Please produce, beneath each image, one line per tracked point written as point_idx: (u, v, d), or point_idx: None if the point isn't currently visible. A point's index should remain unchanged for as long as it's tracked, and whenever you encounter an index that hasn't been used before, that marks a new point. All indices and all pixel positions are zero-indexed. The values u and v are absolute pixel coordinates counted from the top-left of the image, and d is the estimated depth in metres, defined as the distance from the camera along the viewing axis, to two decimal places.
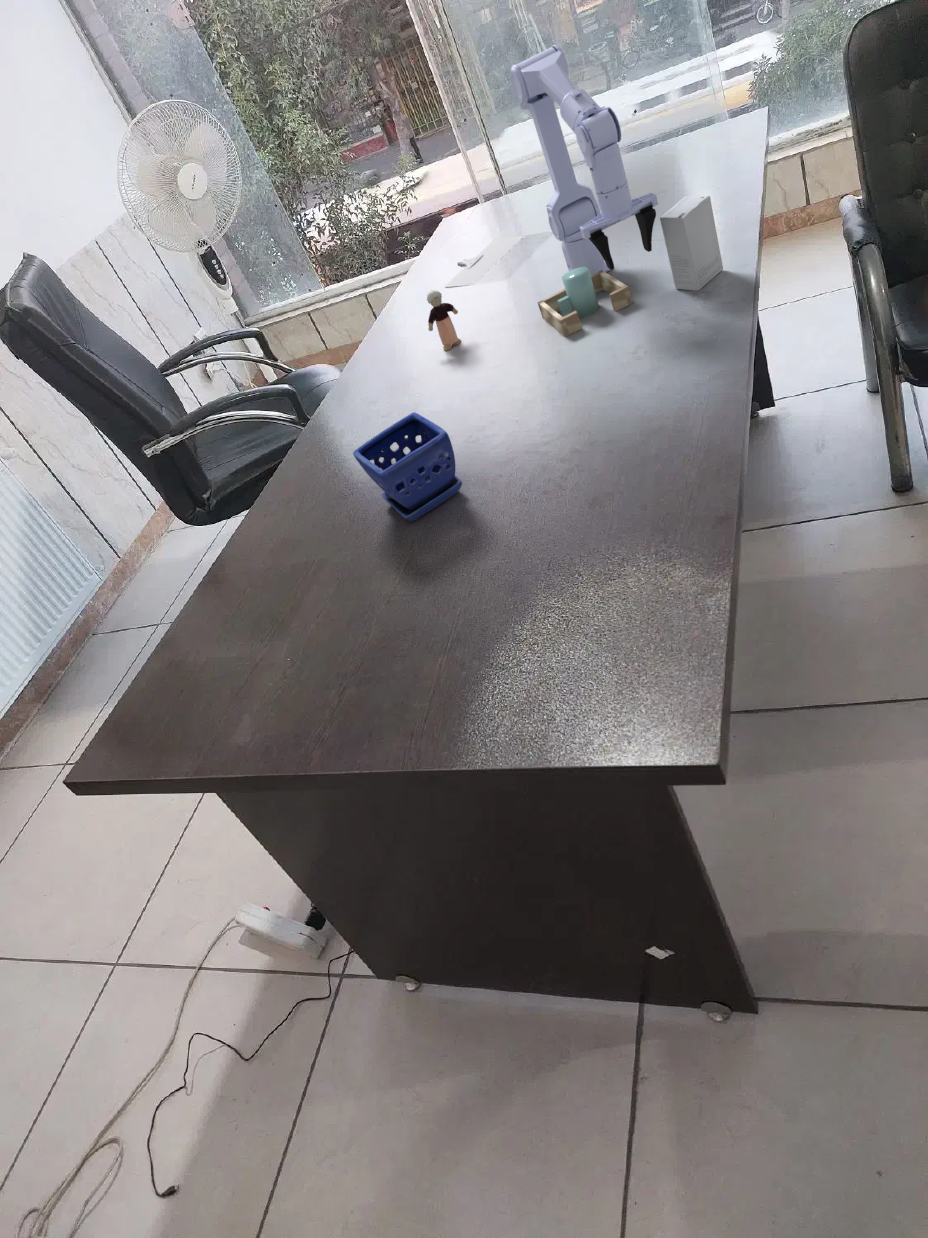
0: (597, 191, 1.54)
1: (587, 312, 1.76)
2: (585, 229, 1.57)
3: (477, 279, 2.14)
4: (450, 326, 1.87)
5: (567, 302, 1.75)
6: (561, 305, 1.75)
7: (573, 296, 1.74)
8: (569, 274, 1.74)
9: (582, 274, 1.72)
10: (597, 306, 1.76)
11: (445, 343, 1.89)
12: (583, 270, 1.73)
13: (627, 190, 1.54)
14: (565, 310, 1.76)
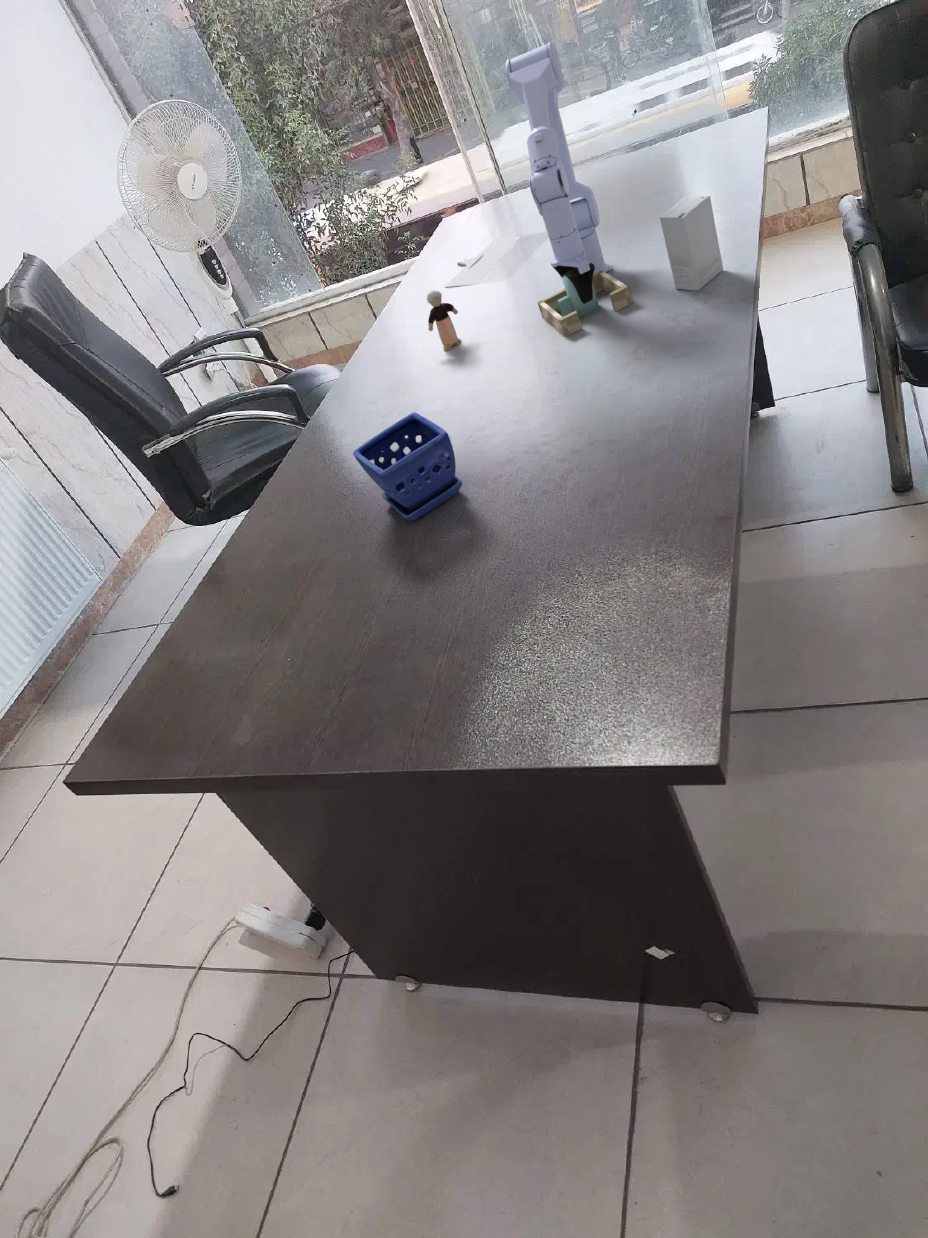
0: (548, 235, 1.68)
1: (587, 312, 1.76)
2: None
3: (477, 279, 2.14)
4: (450, 326, 1.87)
5: (567, 302, 1.75)
6: (561, 305, 1.75)
7: (573, 296, 1.74)
8: None
9: None
10: (597, 306, 1.76)
11: (445, 343, 1.89)
12: None
13: (559, 245, 1.67)
14: (565, 310, 1.76)
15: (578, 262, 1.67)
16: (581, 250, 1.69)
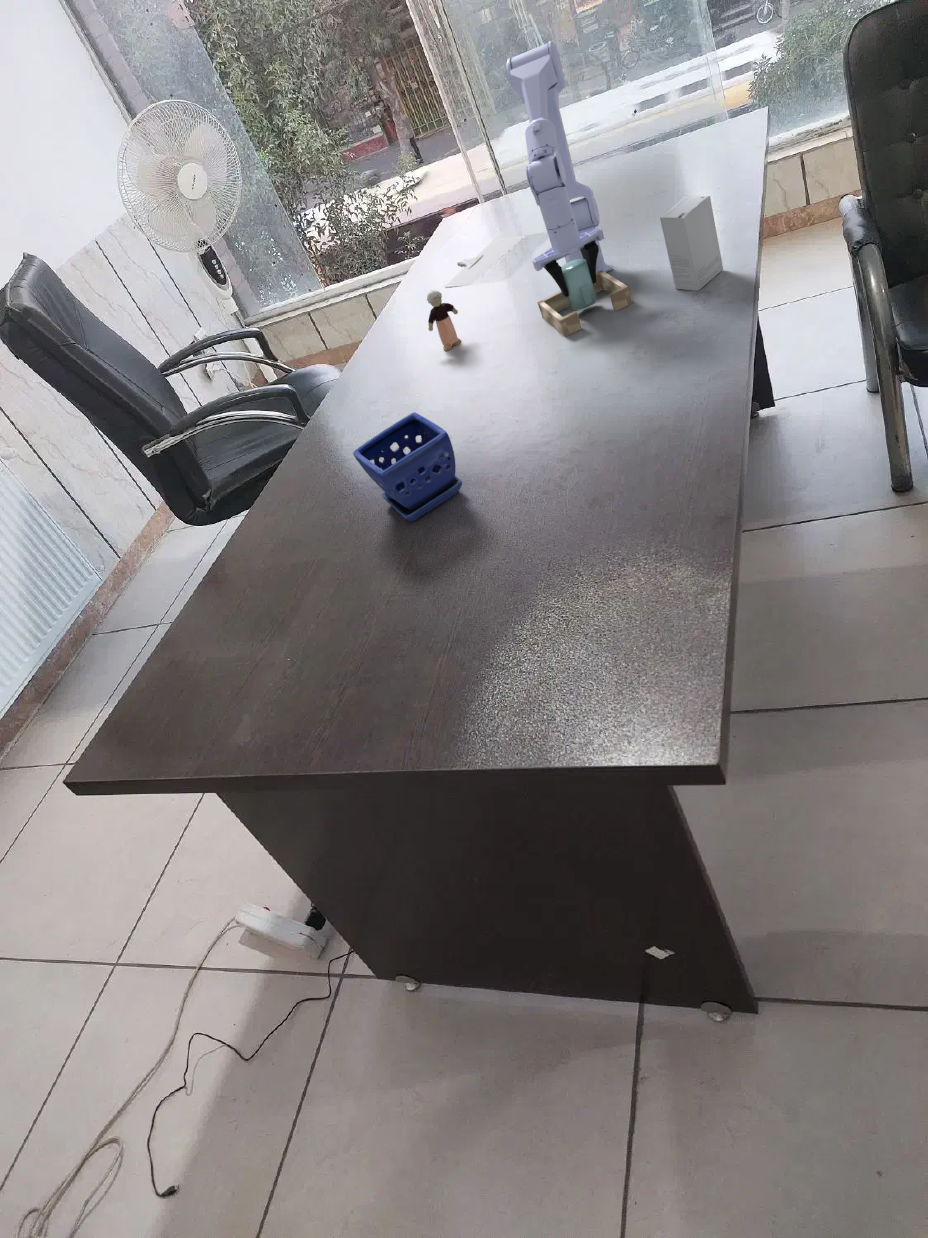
0: (545, 225, 1.67)
1: None
2: (537, 262, 1.69)
3: None
4: (450, 326, 1.87)
5: None
6: (589, 291, 1.71)
7: (588, 281, 1.72)
8: (570, 268, 1.71)
9: (581, 260, 1.73)
10: None
11: (445, 343, 1.89)
12: (572, 262, 1.73)
13: (574, 226, 1.66)
14: None
15: (592, 234, 1.69)
16: None
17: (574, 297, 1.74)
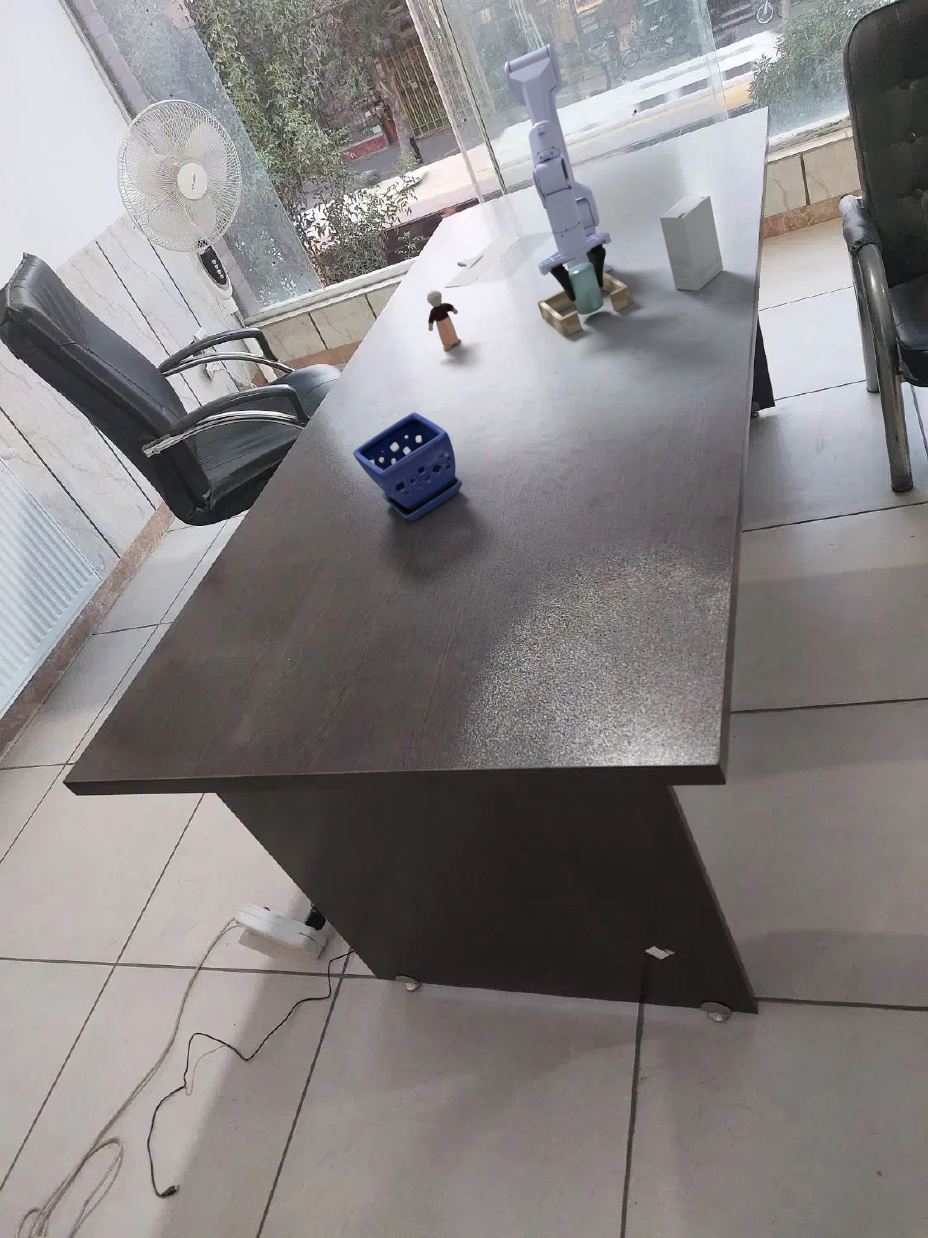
0: None
1: (602, 299, 1.73)
2: (543, 266, 1.66)
3: None
4: (450, 326, 1.87)
5: None
6: (596, 296, 1.68)
7: (595, 285, 1.69)
8: (576, 272, 1.68)
9: (587, 264, 1.70)
10: None
11: (445, 343, 1.89)
12: (578, 266, 1.70)
13: (581, 229, 1.63)
14: None
15: (598, 237, 1.66)
16: None
17: (581, 301, 1.71)
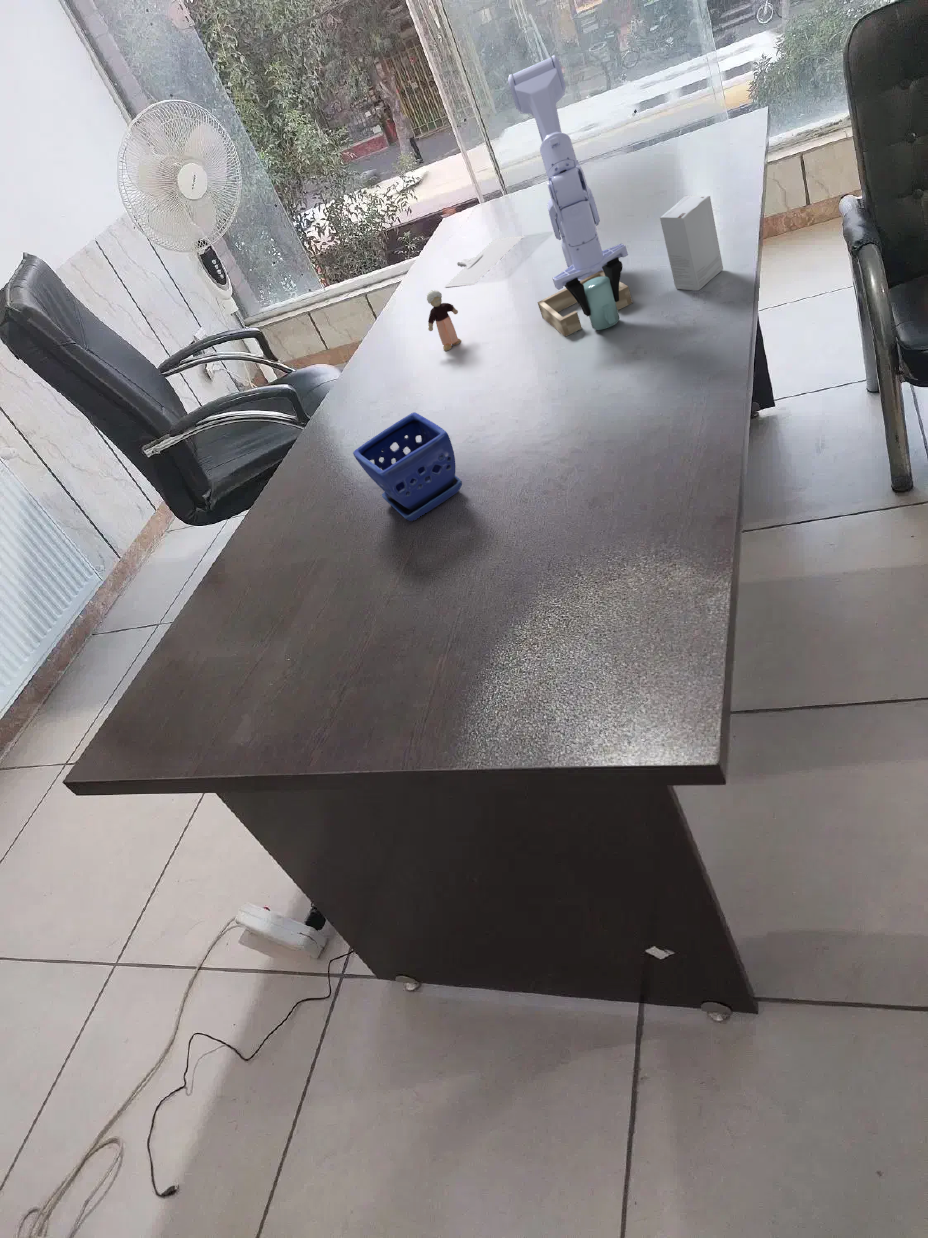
0: (567, 243, 1.59)
1: (618, 313, 1.68)
2: (558, 280, 1.61)
3: (477, 279, 2.14)
4: (450, 326, 1.87)
5: None
6: (612, 310, 1.63)
7: (611, 299, 1.64)
8: (592, 287, 1.63)
9: (603, 278, 1.65)
10: None
11: (445, 343, 1.89)
12: (593, 280, 1.65)
13: (598, 242, 1.58)
14: None
15: (615, 250, 1.61)
16: None
17: (596, 316, 1.66)
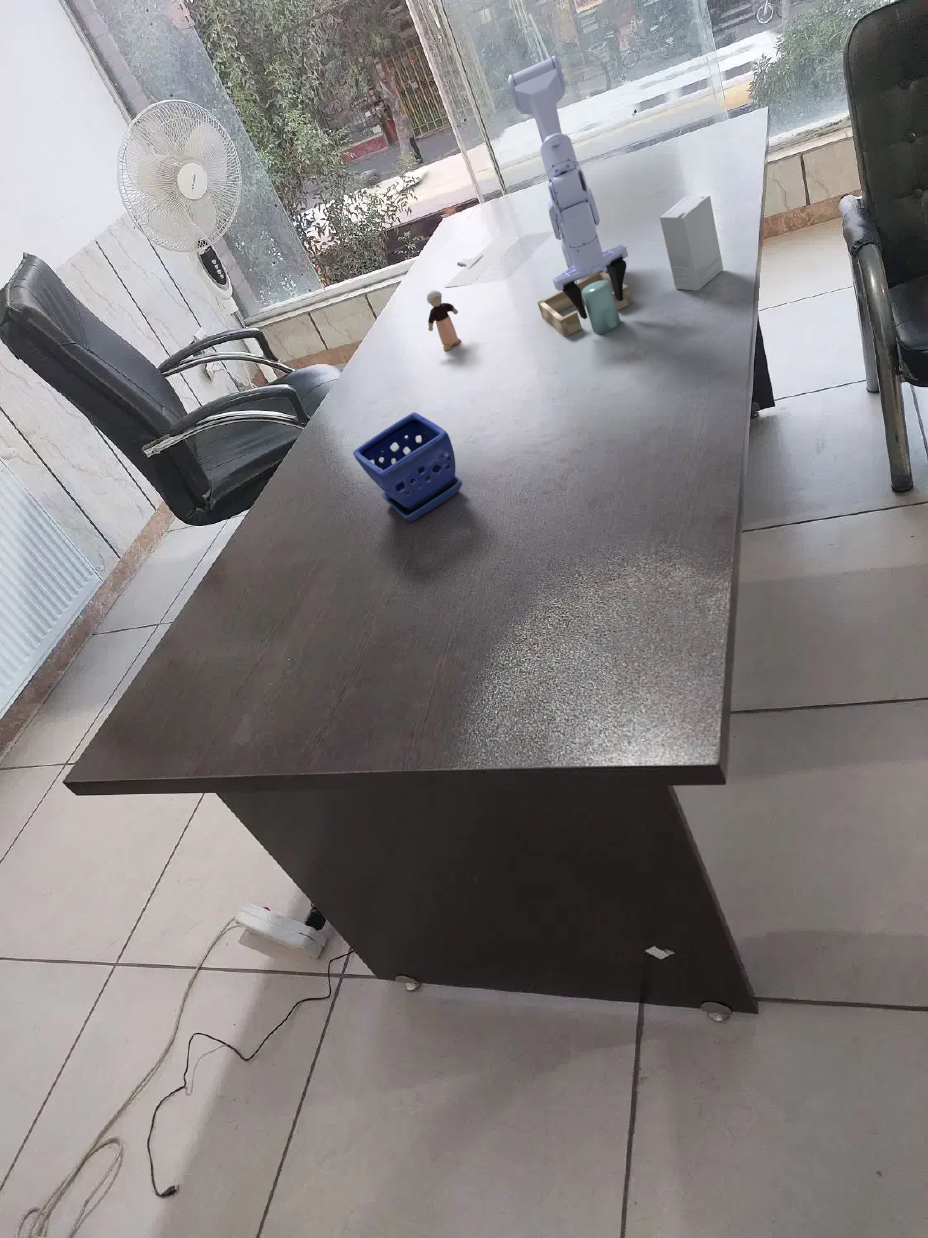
0: (567, 244, 1.59)
1: None
2: (558, 281, 1.61)
3: None
4: (450, 326, 1.87)
5: None
6: (613, 314, 1.64)
7: (612, 303, 1.65)
8: (593, 291, 1.64)
9: (603, 281, 1.65)
10: None
11: (445, 343, 1.89)
12: (594, 284, 1.66)
13: (598, 244, 1.58)
14: None
15: (615, 252, 1.61)
16: None
17: (597, 320, 1.67)
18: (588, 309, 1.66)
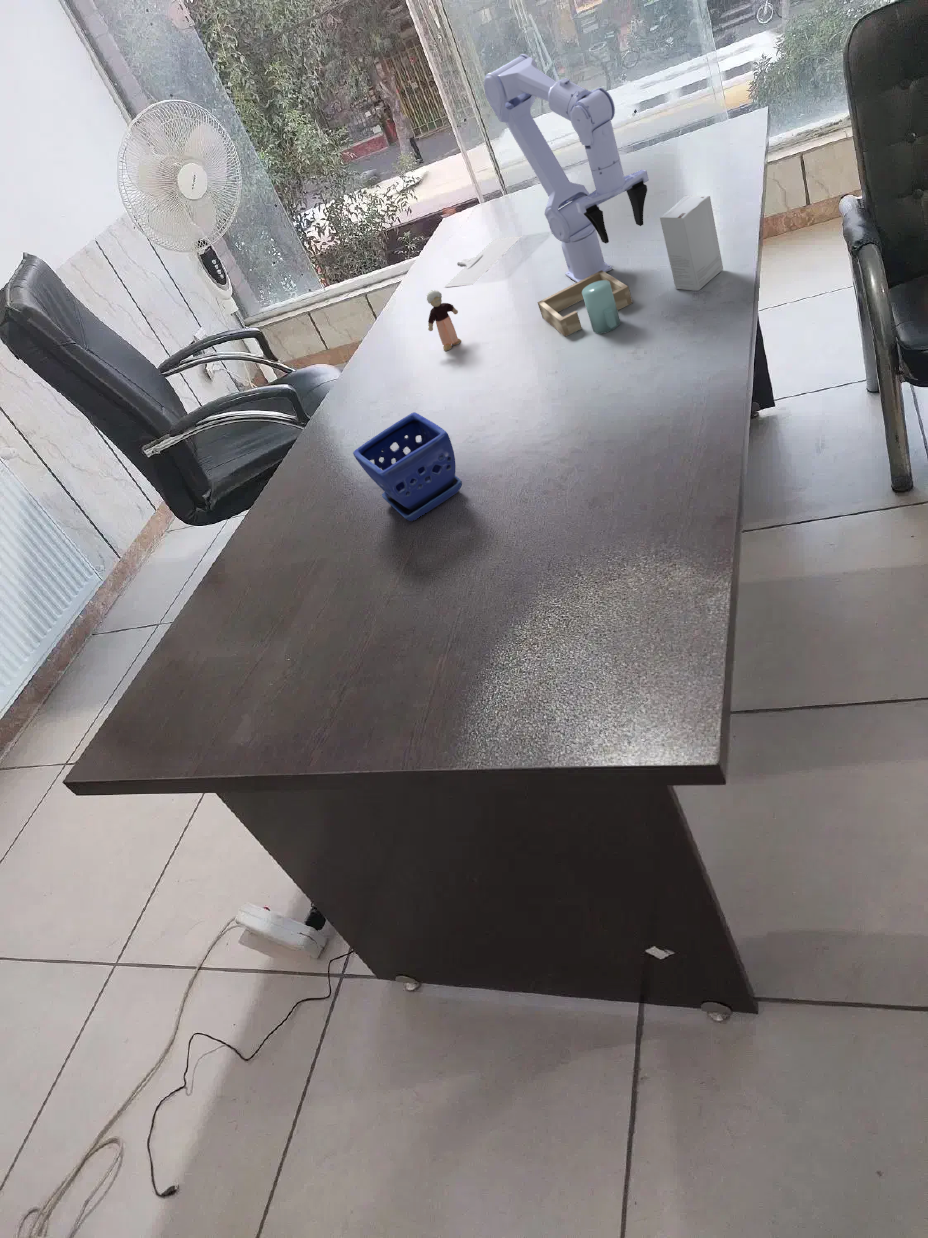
0: (594, 168, 1.63)
1: None
2: (581, 204, 1.67)
3: (477, 279, 2.14)
4: (450, 326, 1.87)
5: None
6: (613, 314, 1.64)
7: (612, 303, 1.65)
8: (593, 291, 1.64)
9: (603, 281, 1.65)
10: None
11: (445, 343, 1.89)
12: (594, 284, 1.66)
13: (620, 166, 1.64)
14: None
15: (636, 176, 1.67)
16: None
17: (597, 320, 1.67)
18: (588, 309, 1.66)
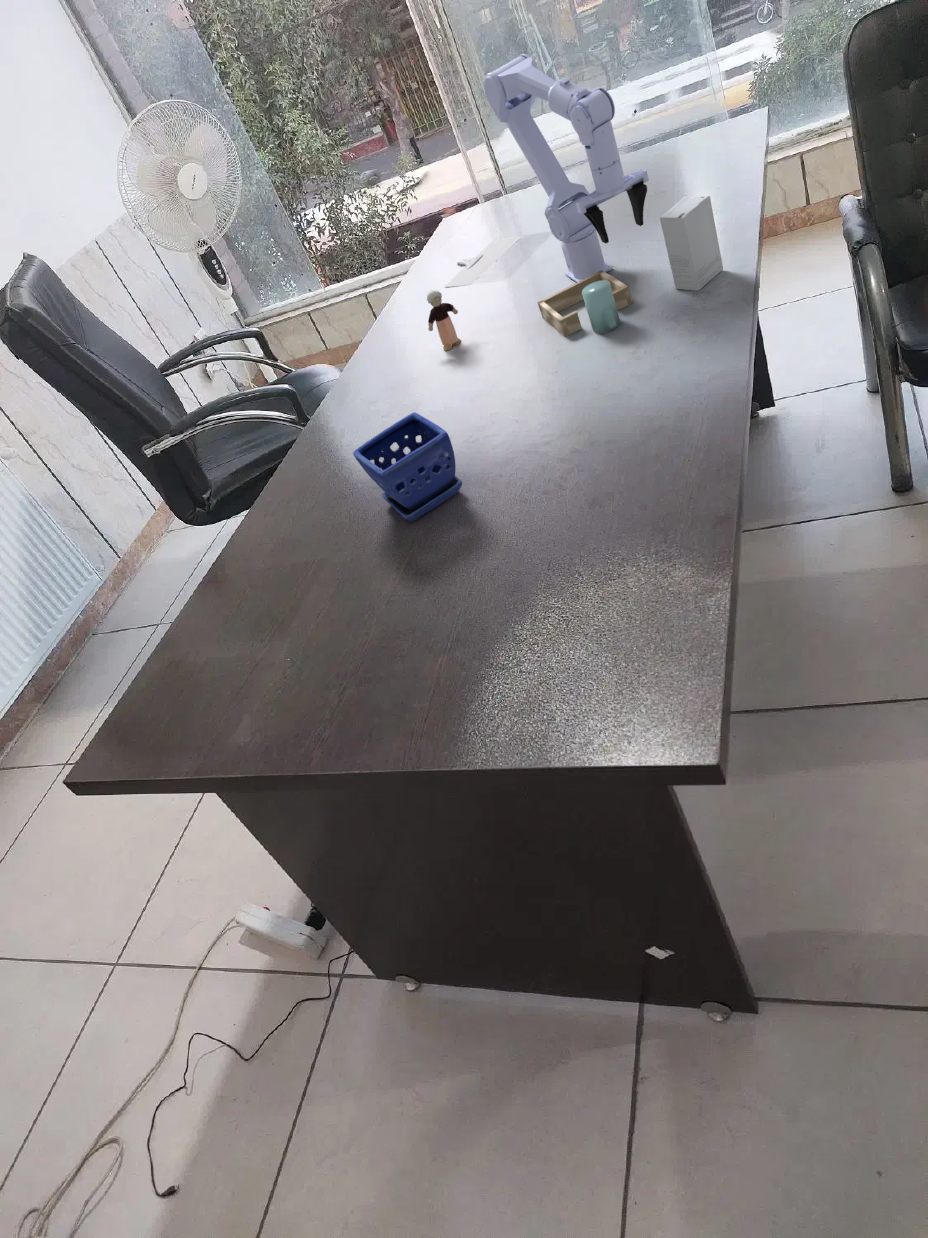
0: (594, 168, 1.63)
1: None
2: (581, 204, 1.67)
3: None
4: (450, 326, 1.87)
5: None
6: (613, 314, 1.64)
7: (612, 303, 1.65)
8: (593, 291, 1.64)
9: (603, 281, 1.65)
10: None
11: (445, 343, 1.89)
12: (594, 284, 1.66)
13: (620, 166, 1.64)
14: None
15: (636, 176, 1.67)
16: None
17: (597, 320, 1.67)
18: (588, 309, 1.66)
